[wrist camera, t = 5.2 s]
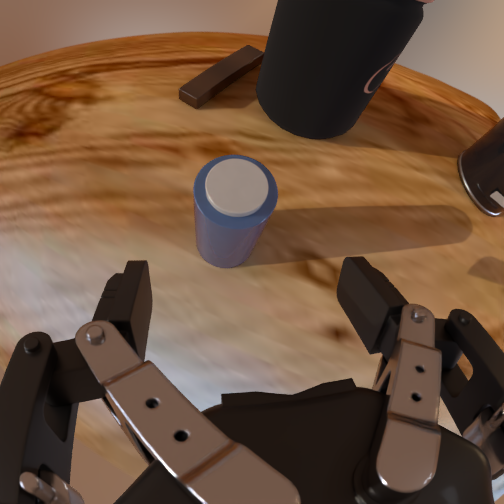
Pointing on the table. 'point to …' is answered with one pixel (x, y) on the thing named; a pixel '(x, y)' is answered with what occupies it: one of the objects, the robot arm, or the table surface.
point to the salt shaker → (232, 208)
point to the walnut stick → (220, 76)
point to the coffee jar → (331, 60)
